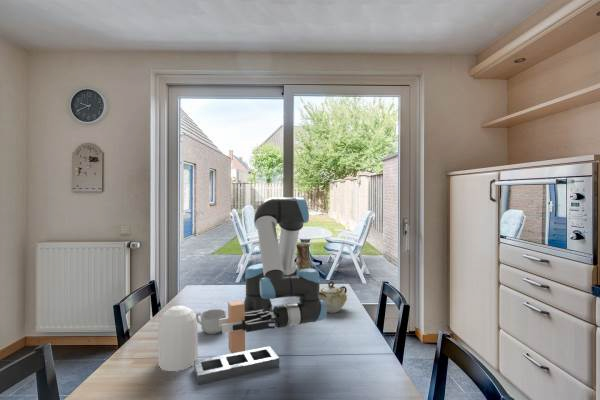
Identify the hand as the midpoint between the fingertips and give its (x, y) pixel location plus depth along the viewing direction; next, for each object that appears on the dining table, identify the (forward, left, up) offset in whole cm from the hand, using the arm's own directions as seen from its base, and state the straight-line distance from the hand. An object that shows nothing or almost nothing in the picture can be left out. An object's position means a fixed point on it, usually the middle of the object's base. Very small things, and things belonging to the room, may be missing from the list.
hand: (220, 325), depth 116 cm
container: (-13, -13, -16) cm, 24 cm away
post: (0, +5, -9) cm, 10 cm away
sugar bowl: (-38, +63, -16) cm, 76 cm away
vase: (-72, +62, -16) cm, 97 cm away
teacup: (-37, +2, -16) cm, 41 cm away
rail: (0, +5, -16) cm, 17 cm away
